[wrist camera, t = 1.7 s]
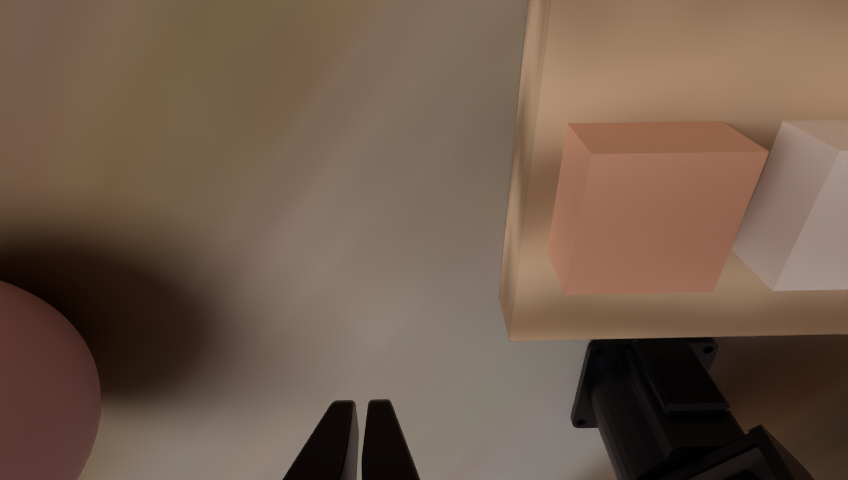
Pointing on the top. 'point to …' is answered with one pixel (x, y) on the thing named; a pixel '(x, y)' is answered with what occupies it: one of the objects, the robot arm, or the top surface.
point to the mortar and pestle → (44, 391)
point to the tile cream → (800, 210)
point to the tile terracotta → (650, 205)
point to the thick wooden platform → (664, 102)
